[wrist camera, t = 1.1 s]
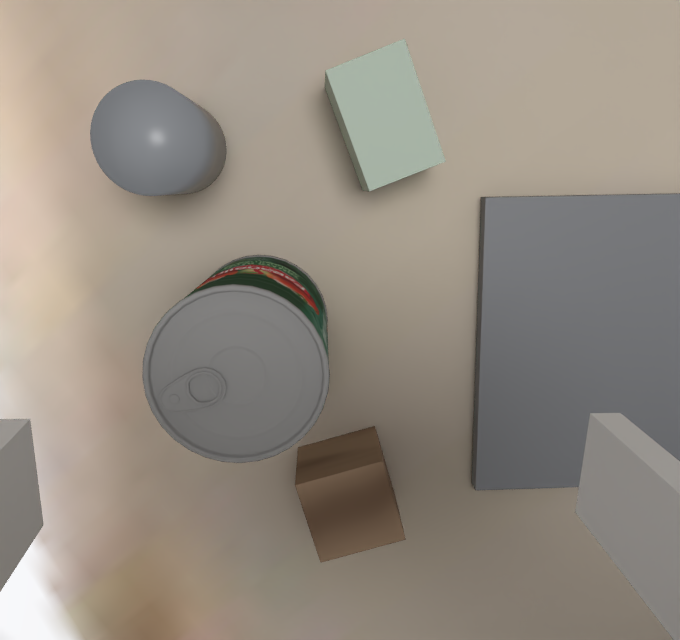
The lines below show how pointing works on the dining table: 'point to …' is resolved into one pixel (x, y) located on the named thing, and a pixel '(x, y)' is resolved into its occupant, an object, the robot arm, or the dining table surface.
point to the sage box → (383, 116)
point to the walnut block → (347, 494)
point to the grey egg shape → (156, 140)
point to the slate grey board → (573, 330)
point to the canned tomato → (241, 361)
